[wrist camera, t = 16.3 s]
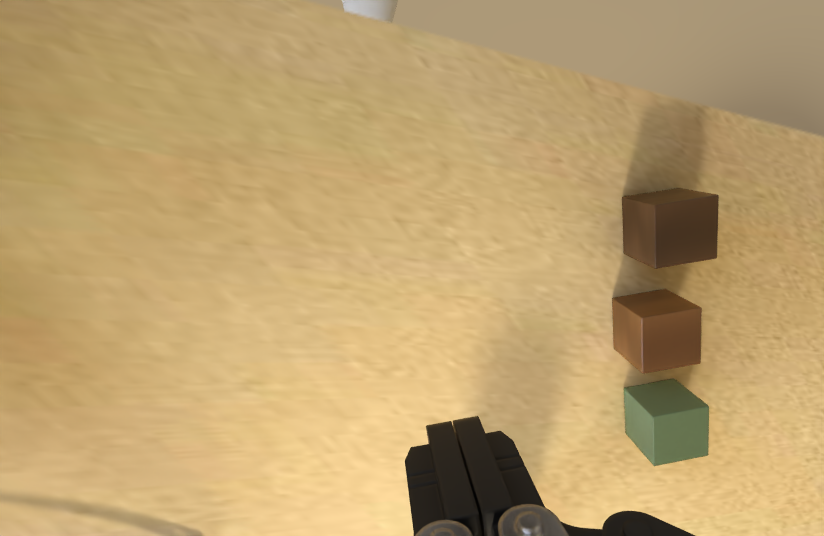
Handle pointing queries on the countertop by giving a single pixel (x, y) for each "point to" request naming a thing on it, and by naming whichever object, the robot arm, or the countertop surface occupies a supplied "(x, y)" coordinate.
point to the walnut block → (670, 227)
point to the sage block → (666, 421)
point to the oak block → (657, 330)
